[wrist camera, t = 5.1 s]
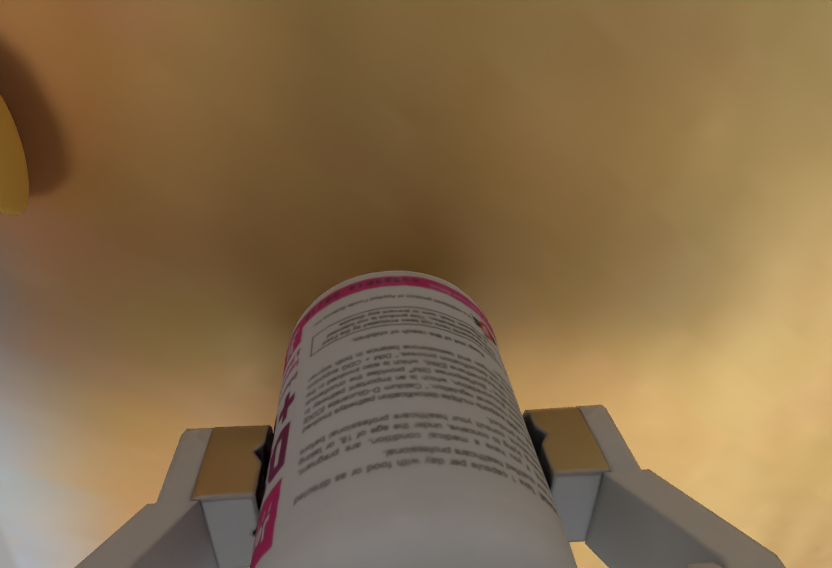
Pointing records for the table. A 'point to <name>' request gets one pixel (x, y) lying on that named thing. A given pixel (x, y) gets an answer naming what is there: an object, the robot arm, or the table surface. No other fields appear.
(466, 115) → the table surface
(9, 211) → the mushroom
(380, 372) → the pill bottle
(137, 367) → the table surface
